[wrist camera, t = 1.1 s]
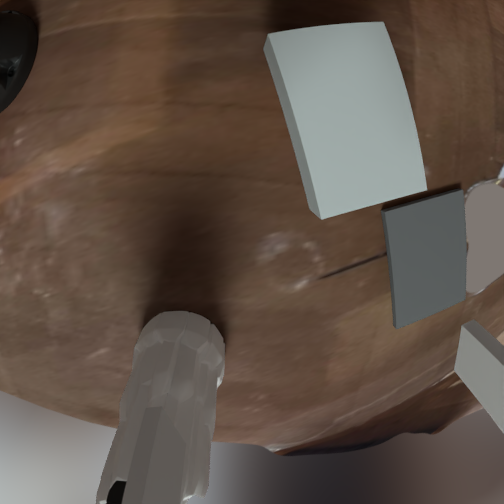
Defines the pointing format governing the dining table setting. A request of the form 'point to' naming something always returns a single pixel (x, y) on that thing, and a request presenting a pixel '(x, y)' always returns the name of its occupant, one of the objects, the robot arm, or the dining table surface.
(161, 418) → the robot arm
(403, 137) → the board
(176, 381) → the white ridged column
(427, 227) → the mat
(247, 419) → the dining table surface
